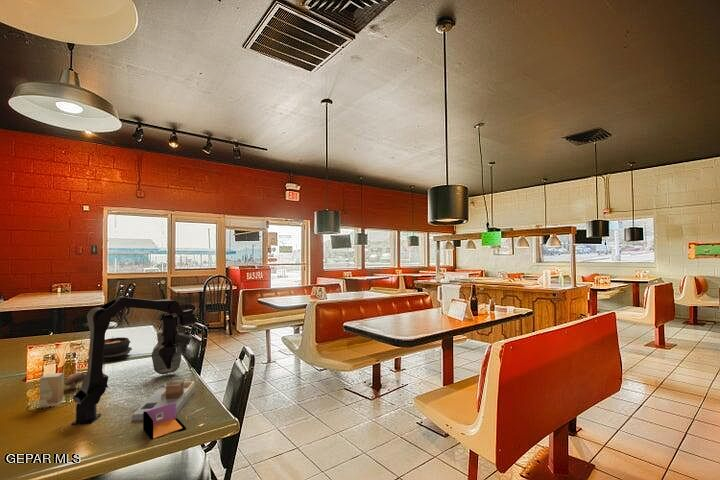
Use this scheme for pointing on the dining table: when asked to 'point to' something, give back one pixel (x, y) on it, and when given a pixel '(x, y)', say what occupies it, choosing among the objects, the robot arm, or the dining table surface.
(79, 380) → the mushroom
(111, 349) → the casserole
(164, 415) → the toy room diorama
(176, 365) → the detergent
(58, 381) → the skincare box
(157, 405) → the deck
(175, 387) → the block
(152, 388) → the dining table surface
